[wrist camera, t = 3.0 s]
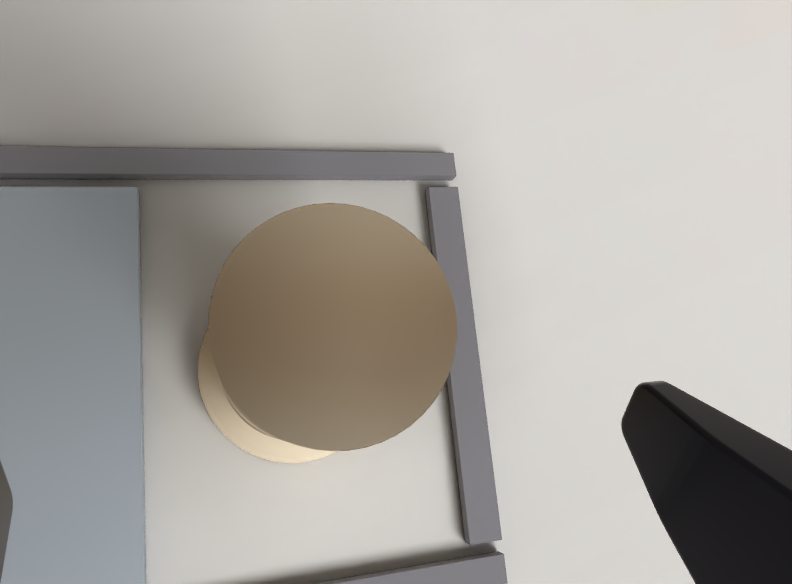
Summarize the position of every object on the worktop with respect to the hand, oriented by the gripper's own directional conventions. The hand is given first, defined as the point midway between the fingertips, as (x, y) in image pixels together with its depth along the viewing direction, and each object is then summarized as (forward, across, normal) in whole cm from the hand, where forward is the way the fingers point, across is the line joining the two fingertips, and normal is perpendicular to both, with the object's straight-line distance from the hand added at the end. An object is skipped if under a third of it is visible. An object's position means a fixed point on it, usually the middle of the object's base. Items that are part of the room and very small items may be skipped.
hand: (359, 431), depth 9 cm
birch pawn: (+8, 0, +5) cm, 9 cm away
